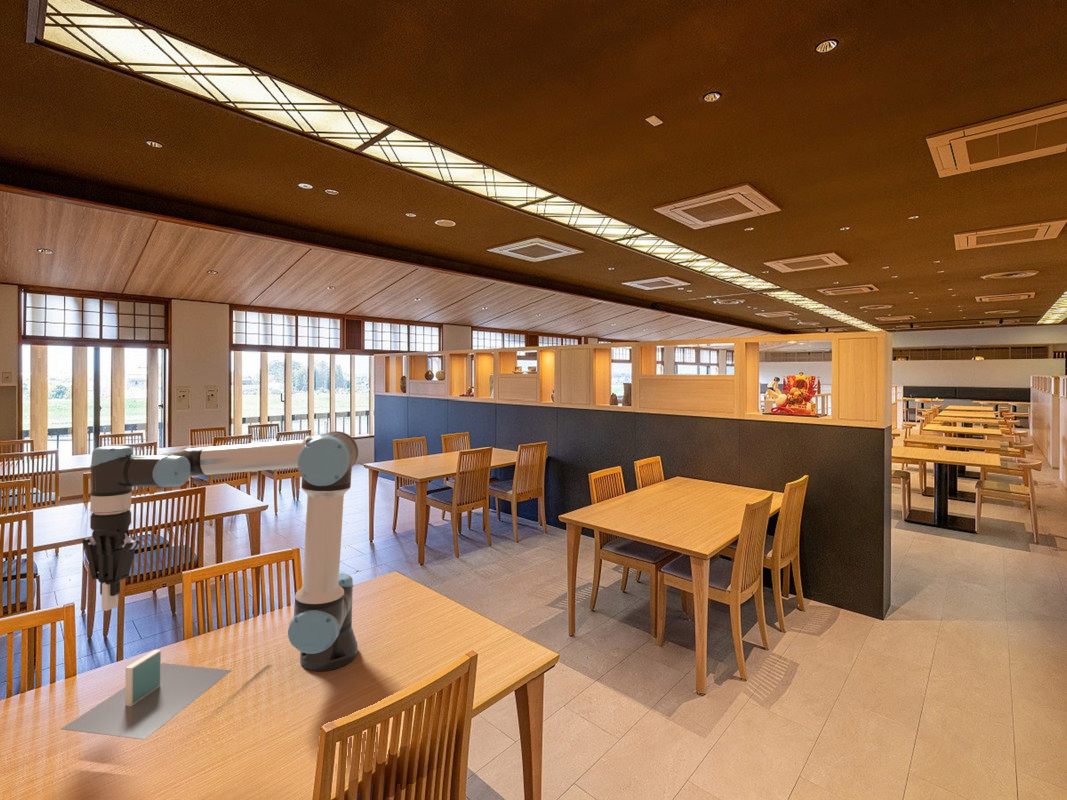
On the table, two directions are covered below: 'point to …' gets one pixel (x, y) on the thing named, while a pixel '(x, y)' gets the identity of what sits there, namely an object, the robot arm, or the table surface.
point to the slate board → (149, 703)
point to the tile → (142, 677)
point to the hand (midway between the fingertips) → (109, 607)
